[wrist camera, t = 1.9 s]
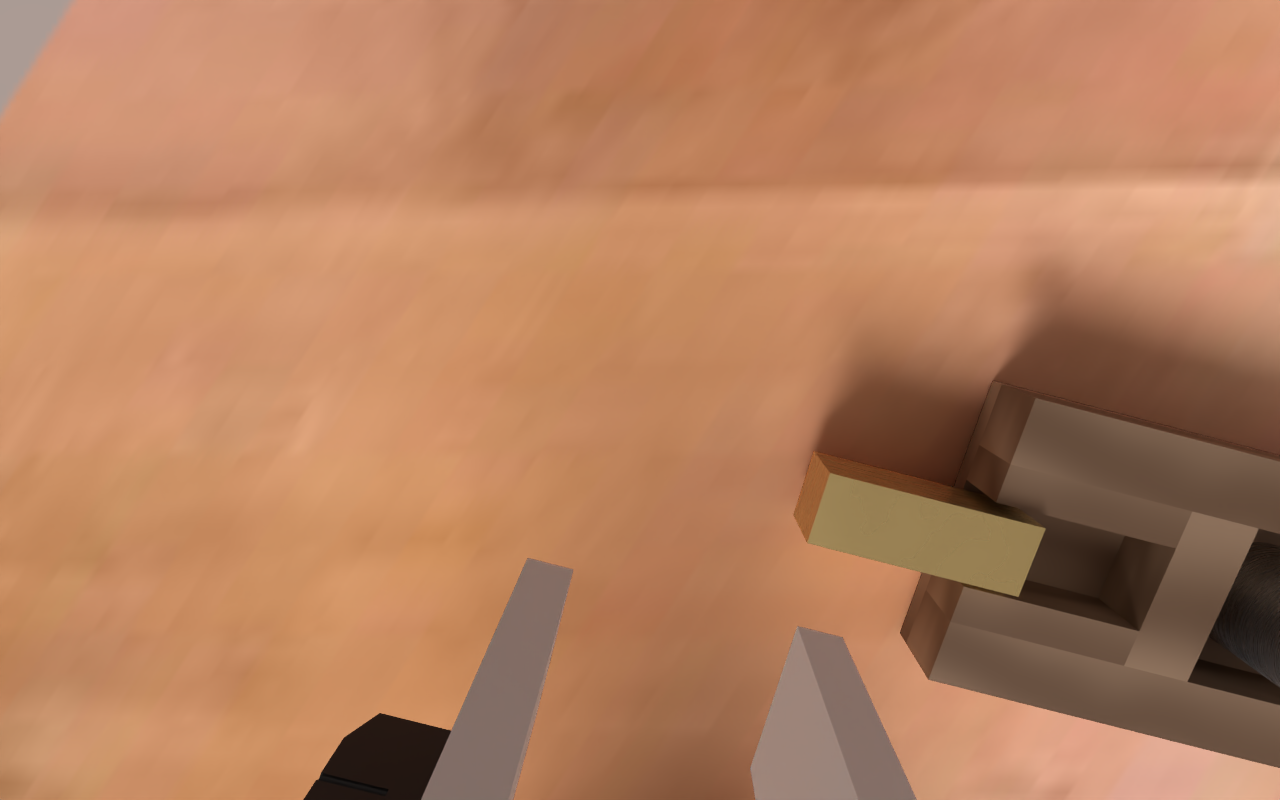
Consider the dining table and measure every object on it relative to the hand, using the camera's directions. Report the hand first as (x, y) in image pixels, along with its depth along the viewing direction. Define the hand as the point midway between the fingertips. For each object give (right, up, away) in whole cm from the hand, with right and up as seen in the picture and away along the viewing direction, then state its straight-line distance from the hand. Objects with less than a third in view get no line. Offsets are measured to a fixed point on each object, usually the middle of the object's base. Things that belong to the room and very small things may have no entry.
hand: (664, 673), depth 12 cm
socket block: (+18, -2, +15) cm, 24 cm away
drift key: (+9, +1, +14) cm, 17 cm away
